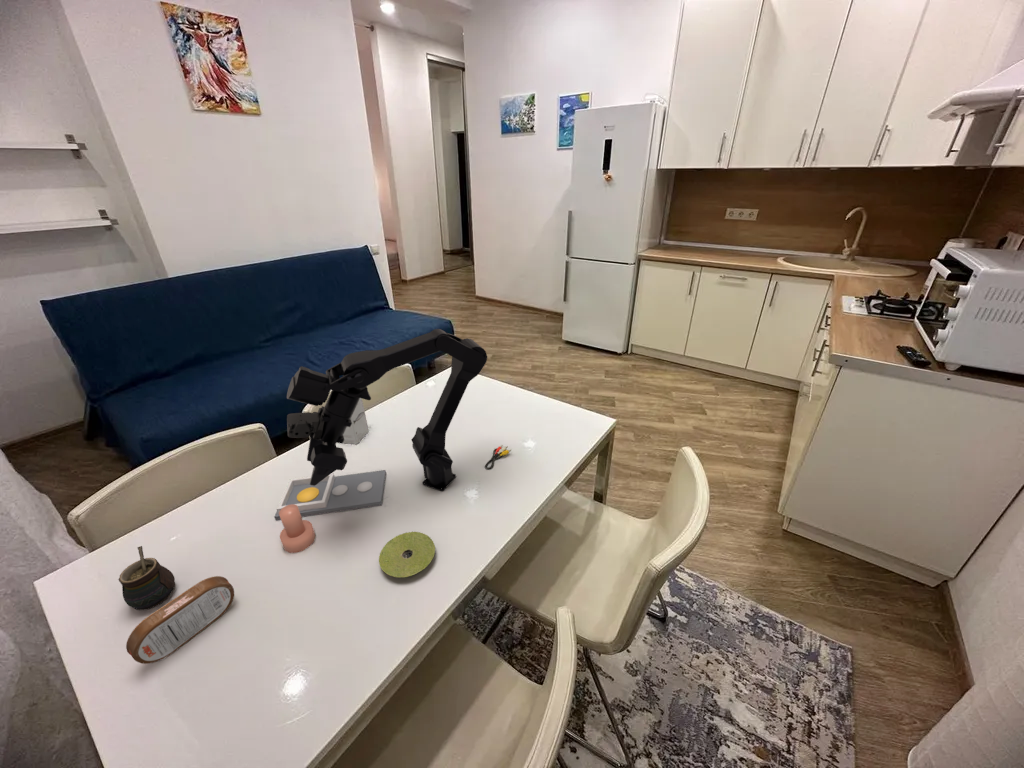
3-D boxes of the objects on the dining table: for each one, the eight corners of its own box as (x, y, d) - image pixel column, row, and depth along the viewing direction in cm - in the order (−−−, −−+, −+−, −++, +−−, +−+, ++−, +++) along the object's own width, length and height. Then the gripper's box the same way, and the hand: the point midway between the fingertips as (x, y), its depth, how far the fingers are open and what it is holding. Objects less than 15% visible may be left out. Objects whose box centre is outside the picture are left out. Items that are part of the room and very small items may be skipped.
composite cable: (489, 472, 109) (489, 465, 108) (476, 465, 111) (476, 458, 110) (512, 454, 116) (512, 447, 114) (499, 448, 118) (499, 441, 117)
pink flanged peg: (322, 535, 90) (311, 504, 86) (297, 557, 85) (285, 526, 81) (301, 526, 93) (291, 496, 89) (277, 547, 88) (264, 516, 84)
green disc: (372, 555, 85) (370, 549, 84) (421, 529, 91) (420, 523, 90) (393, 594, 77) (392, 587, 76) (445, 563, 83) (444, 556, 82)
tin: (234, 594, 78) (219, 565, 74) (243, 603, 76) (227, 573, 72) (139, 666, 67) (114, 635, 63) (146, 677, 65) (122, 646, 61)
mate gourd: (130, 624, 73) (102, 587, 69) (134, 593, 79) (108, 557, 74) (179, 601, 77) (156, 565, 72) (179, 573, 82) (158, 538, 78)
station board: (386, 473, 109) (384, 465, 107) (381, 505, 98) (379, 496, 97) (290, 486, 105) (287, 477, 104) (275, 520, 94) (272, 511, 93)
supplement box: (357, 445, 120) (348, 408, 115) (335, 442, 122) (325, 406, 116) (369, 431, 127) (362, 396, 121) (348, 429, 128) (339, 394, 122)
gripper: (295, 382, 88) (269, 442, 91) (300, 422, 73) (269, 493, 76) (346, 395, 95) (321, 452, 97) (360, 435, 80) (329, 500, 82)
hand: (310, 472), depth 88 cm, fingers open, 9 cm apart
